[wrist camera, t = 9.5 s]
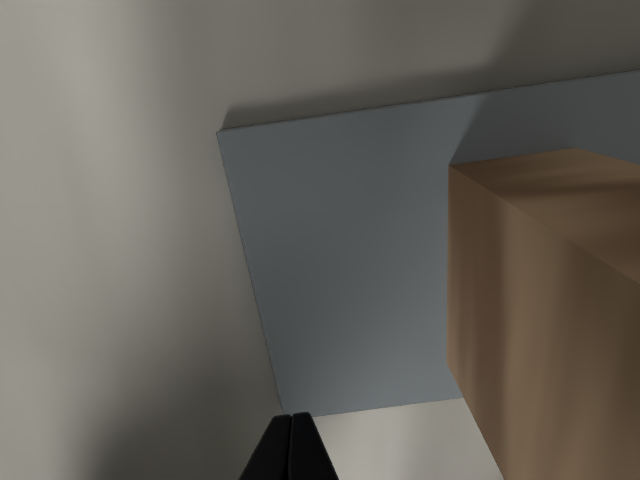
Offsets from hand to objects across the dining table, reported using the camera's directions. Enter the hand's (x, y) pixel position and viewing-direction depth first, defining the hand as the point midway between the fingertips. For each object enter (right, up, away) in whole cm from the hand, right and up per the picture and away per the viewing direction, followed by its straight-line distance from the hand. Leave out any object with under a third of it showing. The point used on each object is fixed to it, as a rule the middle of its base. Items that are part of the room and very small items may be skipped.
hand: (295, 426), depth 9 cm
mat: (+8, +4, +5) cm, 10 cm away
